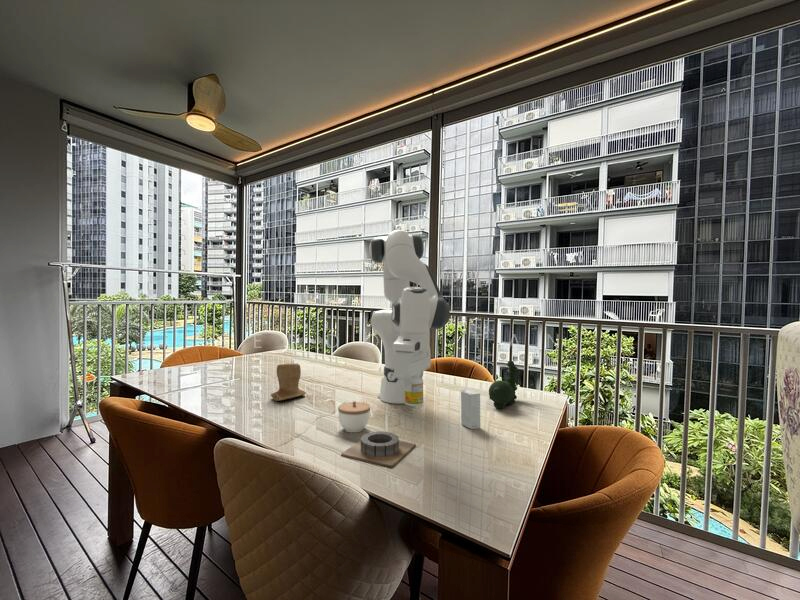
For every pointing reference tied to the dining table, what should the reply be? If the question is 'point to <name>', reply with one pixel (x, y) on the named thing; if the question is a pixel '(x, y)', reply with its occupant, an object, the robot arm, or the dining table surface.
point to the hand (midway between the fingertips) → (413, 388)
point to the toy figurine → (504, 388)
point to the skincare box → (470, 409)
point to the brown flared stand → (288, 382)
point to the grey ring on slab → (379, 449)
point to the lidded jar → (354, 416)
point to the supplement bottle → (415, 391)
